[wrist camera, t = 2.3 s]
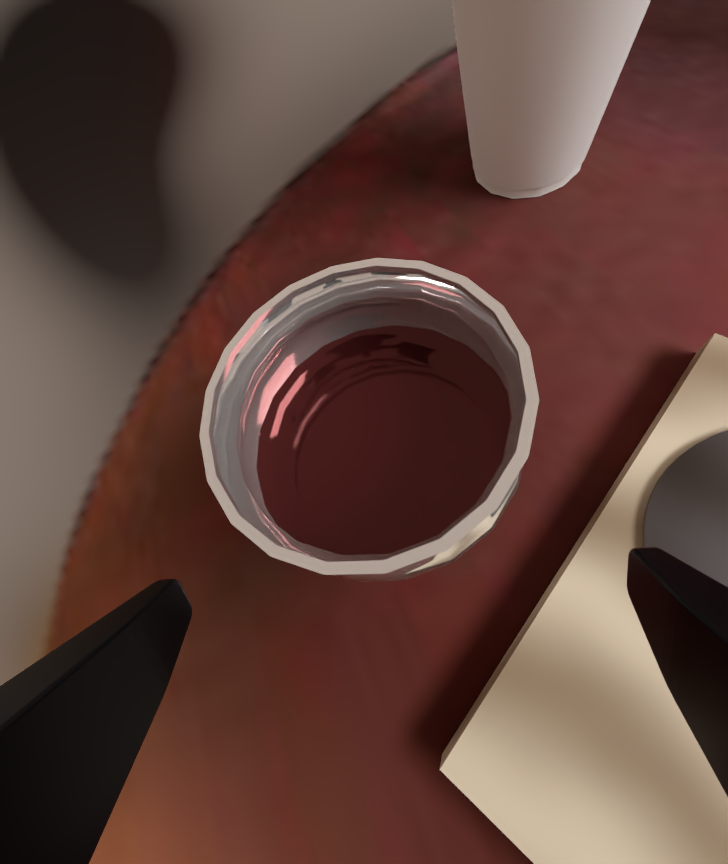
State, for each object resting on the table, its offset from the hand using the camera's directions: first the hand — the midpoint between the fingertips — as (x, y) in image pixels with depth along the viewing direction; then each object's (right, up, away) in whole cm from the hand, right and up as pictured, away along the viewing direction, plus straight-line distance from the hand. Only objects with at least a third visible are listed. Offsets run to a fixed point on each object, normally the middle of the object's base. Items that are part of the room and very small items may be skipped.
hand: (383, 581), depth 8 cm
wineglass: (+2, -1, +11) cm, 11 cm away
